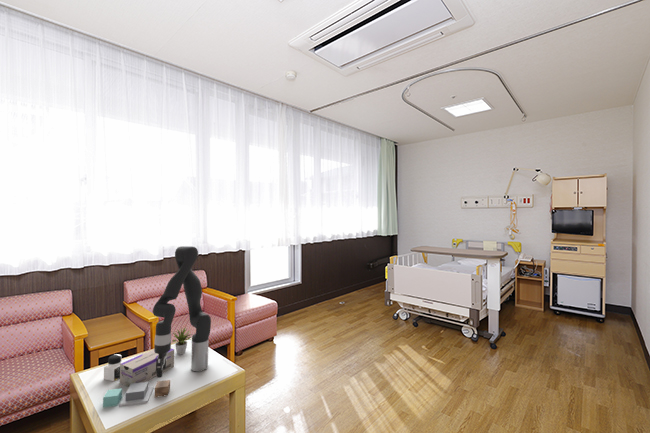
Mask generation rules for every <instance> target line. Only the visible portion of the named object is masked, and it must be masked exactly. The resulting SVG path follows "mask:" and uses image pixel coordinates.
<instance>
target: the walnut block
mask: <svg viewBox="0 0 650 433" xmlns="http://www.w3.org/2000/svg"><path fill="white" fill-rule="evenodd" d="M154 386H155V387H154V398H159V397H158V396H162V397H165V396H164V395H168V396H169V393H170V390H171V379H166V380H158V381H157V382H156V383H155V385H154Z"/></svg>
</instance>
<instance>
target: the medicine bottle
mask: <svg viewBox="0 0 650 433" xmlns="http://www.w3.org/2000/svg"><path fill="white" fill-rule="evenodd" d="M123 362H124V361H122V355H121V354H117V353H116V354H115V353H114V354H112V355H110V356H109V357H107V365H105V366H104V367H103V380H104V381H111V382H115V381H117V380H120V364H121V363H123Z"/></svg>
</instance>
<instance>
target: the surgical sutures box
mask: <svg viewBox="0 0 650 433" xmlns="http://www.w3.org/2000/svg"><path fill="white" fill-rule="evenodd" d="M157 356H158V354H157V353H155V352H154V348H153V349H150V350H149V351H147V352H144V353H142V354H140V355H137V356H134V358H133V357H132V358H130V359H128V360H126V361H122V362H123V363H121V364H120V378H119V383H120V384H121V385H124V386H125V387H128V388H129V386H130V385H131V384H133V383H142V382H149V380H152V379H154V378H155V377H157V371H156V360H157ZM174 367H175V349H174V348H171V349H170V351H168V357H167V361H166V368H165V369H162V374H163V373H165V372H167V371H168V370H171V369H172V368H174ZM158 368H160V366H159V367H158Z"/></svg>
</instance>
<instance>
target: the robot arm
mask: <svg viewBox="0 0 650 433" xmlns="http://www.w3.org/2000/svg"><path fill="white" fill-rule="evenodd" d="M198 256H199V250H198V249H197V247H196V246H191V245H190V246H189V245H188V246H187V245H186V246H178V247H177V248H176V249H175V251H174V257H175V258H174V259H175V261H176V264H177V267H178V271H177V272H176V273H174V274H173V276H172V277H171V278H170V280H168V283H167V285H166V287H165V289H164V291H163V293H162V295H161V296H160V297H159V299H158V300H157V301H156V303H155V304H154V306H153V308H152V314H153V315H154V317H157V318H163V320H160V321H157V323H156V324H155V335H154V346H153V349H154V352H155V353H157V354H158V356H157V360H156V371H157V376H156V378H157V379H158V378H159V379H161V378H163V373H162V369H165V368H166V361H167V357H168V351H170V349H171V347H172V323H173V321H174V317H175V314H176V311H177V310H176V306H175V305H174V304H173V303H169V302H170V301H174V300H177V298H178V297H179V294H180V291H181V288H182V286H183V290H184V294H185V298H186V303H187V307H188V308H187V309H188V317H189V323H190V325H191V326H192V327H193V328H195V333H194V334H192V335H191V337H192V338H191V358H190V359H191V362H190V370H191V371H192V370H193V371H192V372H194V371H199V372H202V371H201V370H203V371H205V370H204V369H206V368H207V367H208V366H209V336H210V334H211V326H212V318H211V315H209V314H208V313H205V312H204V311H203V310H202V309H203V308H202V305H201V300H202V295H203V288H202V284H201V280H200V278H199V277H198V276H197V275H196V273H195V271H193V269H192V268H193V266H194V265H195V263H196V261H197V259H198ZM159 366H160V368H158V367H159ZM208 368H209V367H208ZM208 368H207V369H208ZM207 369H206V370H207Z"/></svg>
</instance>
